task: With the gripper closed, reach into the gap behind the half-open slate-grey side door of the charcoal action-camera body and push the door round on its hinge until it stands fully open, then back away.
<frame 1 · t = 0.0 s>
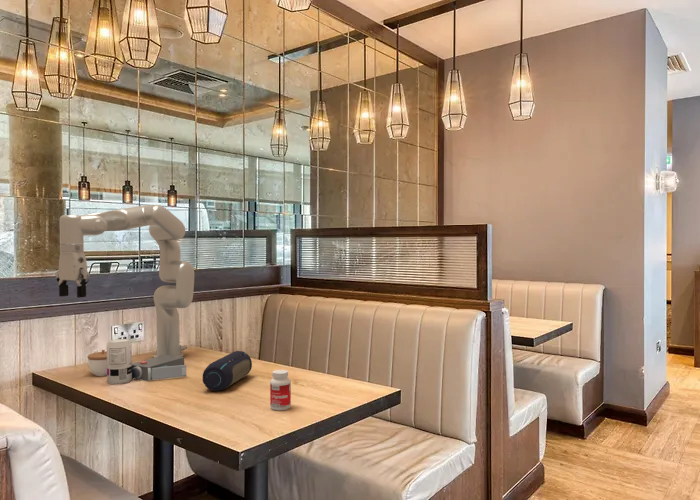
hand: (72, 296, 185), 31 cm above the table, tool pointing down, fingers open, 9 cm apart
side door: (169, 372, 190), point 3 cm above the table, hinge at 40.0°
pill bottle: (280, 408, 156), on the table
lidded jar: (103, 374, 198), on the table
portable speaker: (229, 384, 183), on the table
supplement can: (119, 382, 187), on the table
camera body: (157, 373, 198), on the table
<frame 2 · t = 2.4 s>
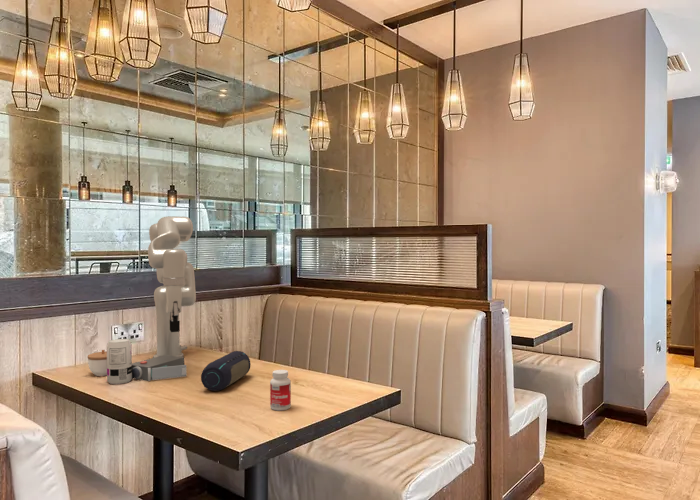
hand: (174, 330, 194), 17 cm above the table, tool pointing down, fingers open, 3 cm apart
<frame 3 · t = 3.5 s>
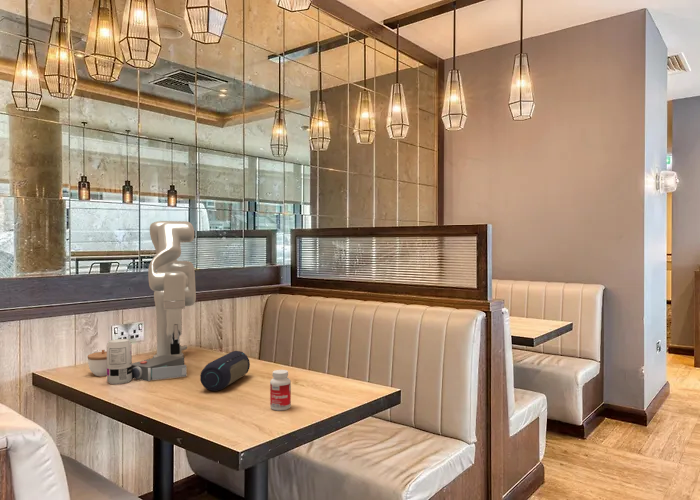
hand: (175, 353, 193), 9 cm above the table, tool pointing down, fingers closed
nothing on the table moved.
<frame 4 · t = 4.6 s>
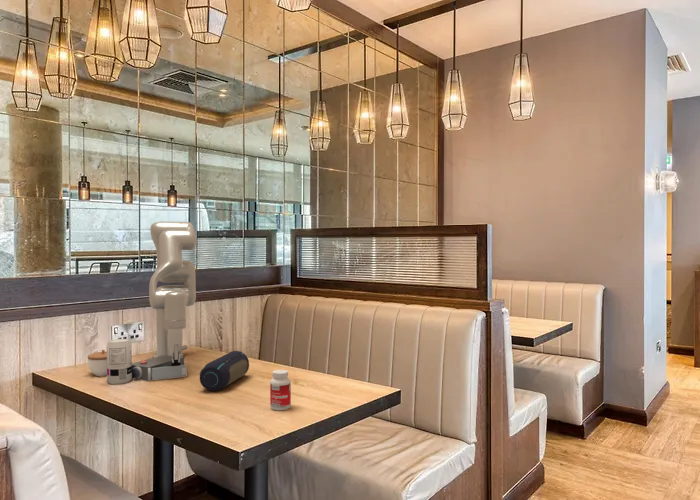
hand: (176, 372, 193), 1 cm above the table, tool pointing down, fingers closed
side door: (169, 372, 190), point 2 cm above the table, hinge at 40.2°, touching gripper
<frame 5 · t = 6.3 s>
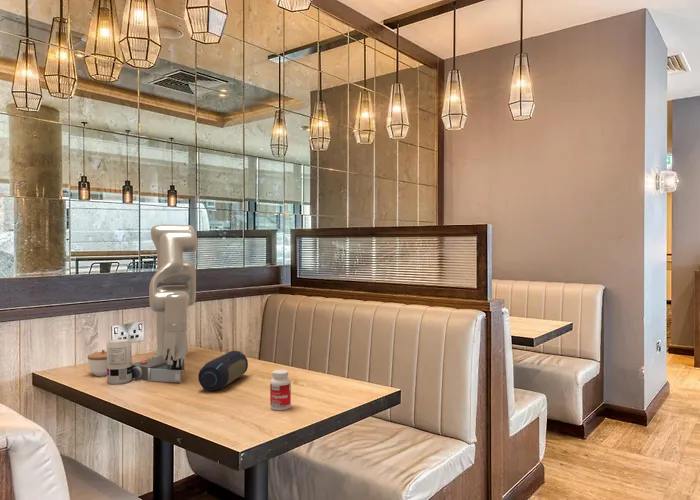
hand: (176, 377, 187), 1 cm above the table, tool pointing down, fingers closed
side door: (165, 375, 185), point 2 cm above the table, hinge at 77.9°, touching gripper
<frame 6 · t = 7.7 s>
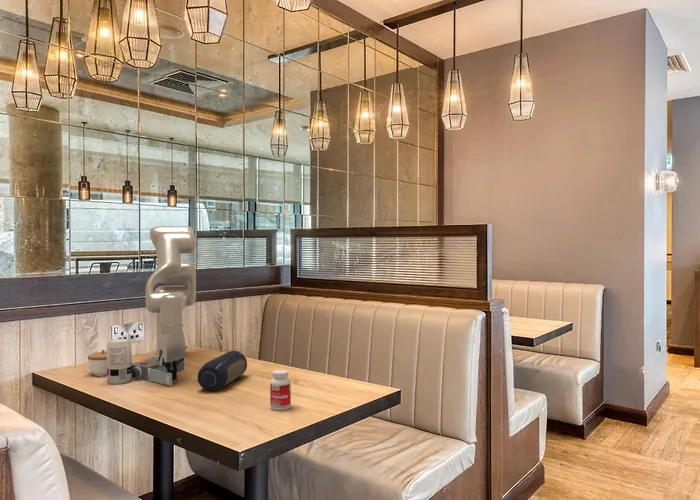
hand: (172, 379, 184), 1 cm above the table, tool pointing down, fingers closed
side door: (160, 377, 183), point 2 cm above the table, hinge at 98.7°
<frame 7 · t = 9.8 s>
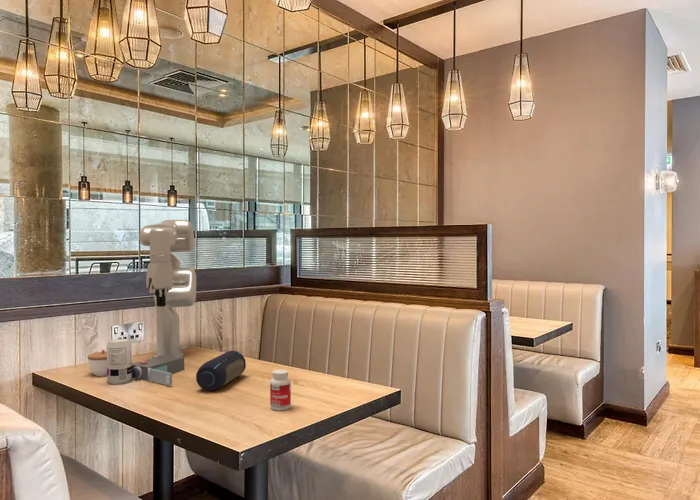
hand: (161, 306, 202), 25 cm above the table, tool pointing down, fingers closed
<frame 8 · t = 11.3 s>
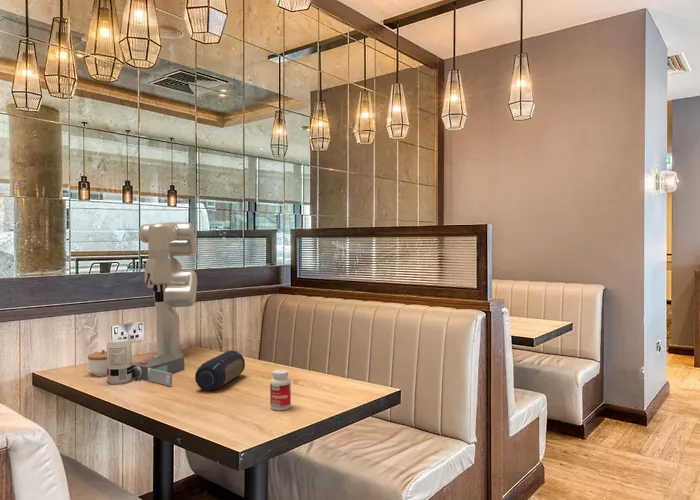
hand: (159, 301, 203), 27 cm above the table, tool pointing down, fingers closed
at the end: side door at +99° (first picture: +40°) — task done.
